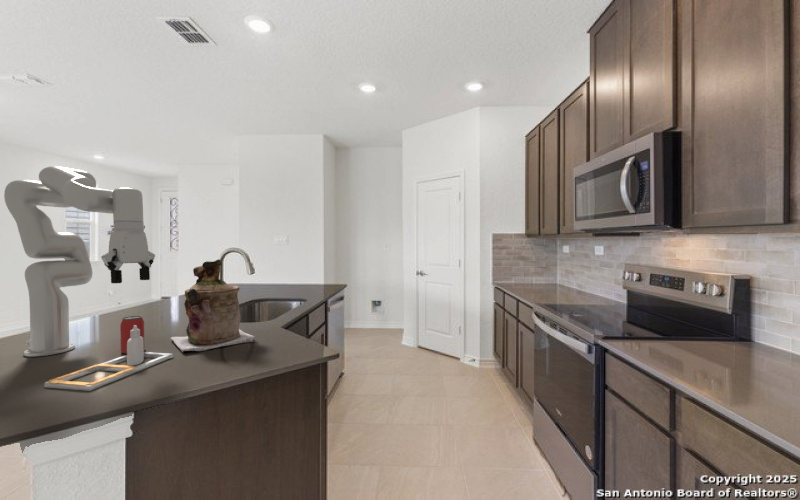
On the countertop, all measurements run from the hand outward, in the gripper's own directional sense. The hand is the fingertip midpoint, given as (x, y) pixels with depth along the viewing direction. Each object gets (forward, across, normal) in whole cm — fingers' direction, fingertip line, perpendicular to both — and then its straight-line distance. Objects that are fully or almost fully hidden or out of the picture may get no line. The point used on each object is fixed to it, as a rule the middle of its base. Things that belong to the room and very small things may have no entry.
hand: (131, 281), depth 110 cm
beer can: (+26, -10, -11) cm, 29 cm away
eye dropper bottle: (+26, +1, +1) cm, 26 cm away
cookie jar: (+26, -25, +8) cm, 37 cm away
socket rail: (+26, +7, +1) cm, 27 cm away
